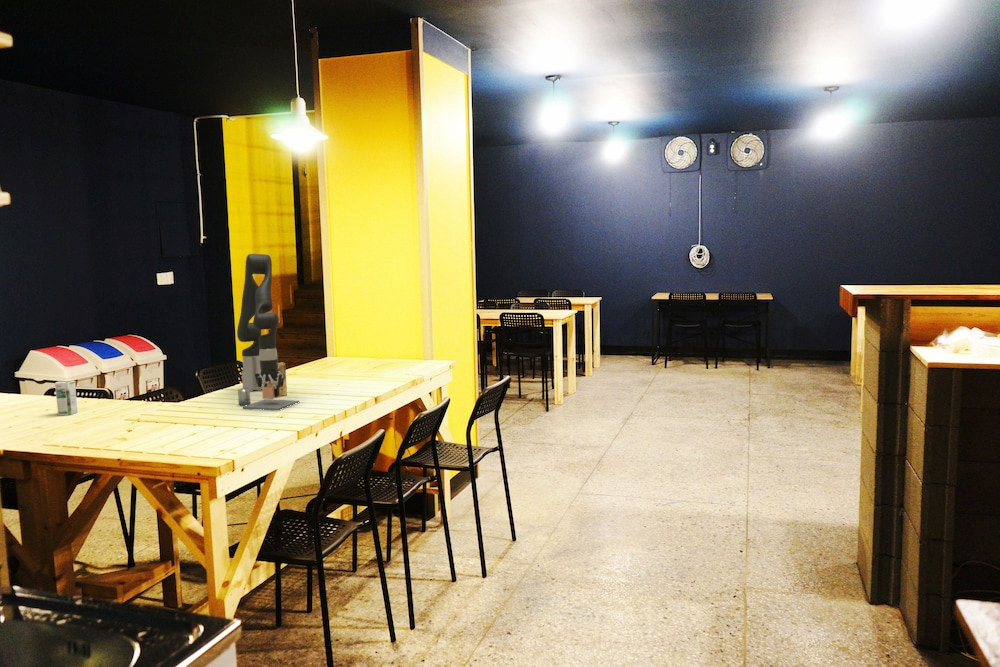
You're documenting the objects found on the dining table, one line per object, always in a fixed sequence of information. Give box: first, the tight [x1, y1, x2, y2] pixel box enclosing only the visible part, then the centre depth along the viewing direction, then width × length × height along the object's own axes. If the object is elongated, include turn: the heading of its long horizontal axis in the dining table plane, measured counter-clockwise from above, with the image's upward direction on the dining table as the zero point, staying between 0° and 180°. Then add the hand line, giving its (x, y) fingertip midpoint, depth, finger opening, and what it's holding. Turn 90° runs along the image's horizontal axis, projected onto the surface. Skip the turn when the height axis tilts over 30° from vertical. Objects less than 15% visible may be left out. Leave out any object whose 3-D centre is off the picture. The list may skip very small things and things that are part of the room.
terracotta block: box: [261, 385, 280, 400], centre depth 330 cm, size 5×5×5 cm
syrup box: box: [54, 380, 78, 416], centre depth 326 cm, size 6×6×14 cm
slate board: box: [242, 399, 300, 411], centre depth 331 cm, size 18×16×1 cm
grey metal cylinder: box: [237, 387, 252, 407], centre depth 334 cm, size 5×5×7 cm
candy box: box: [267, 362, 288, 397], centre depth 352 cm, size 9×4×15 cm, turn 129°
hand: (271, 396), depth 330 cm, fingers closed on terracotta block, 5 cm apart
